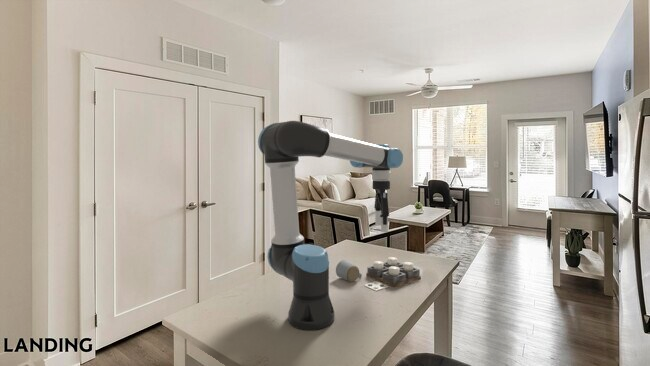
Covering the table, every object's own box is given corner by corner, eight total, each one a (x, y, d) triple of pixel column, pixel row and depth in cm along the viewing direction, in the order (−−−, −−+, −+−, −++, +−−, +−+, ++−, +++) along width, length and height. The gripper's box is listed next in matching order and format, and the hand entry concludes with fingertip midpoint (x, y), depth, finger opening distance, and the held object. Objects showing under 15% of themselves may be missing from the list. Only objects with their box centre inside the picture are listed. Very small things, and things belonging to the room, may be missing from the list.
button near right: (394, 278, 136) (394, 270, 135) (386, 275, 139) (386, 267, 139) (401, 276, 138) (401, 268, 138) (393, 273, 142) (393, 265, 142)
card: (376, 291, 131) (376, 289, 131) (363, 285, 136) (363, 284, 136) (388, 286, 135) (388, 285, 135) (376, 281, 140) (376, 280, 140)
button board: (395, 287, 134) (395, 278, 133) (366, 275, 147) (366, 267, 147) (420, 278, 143) (420, 269, 143) (390, 268, 157) (391, 259, 157)
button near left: (378, 272, 143) (378, 265, 143) (371, 269, 146) (371, 262, 146) (385, 270, 146) (385, 262, 145) (378, 267, 149) (378, 260, 149)
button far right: (408, 273, 141) (408, 266, 141) (400, 271, 145) (400, 263, 144) (415, 271, 144) (415, 263, 143) (407, 268, 147) (407, 261, 147)
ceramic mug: (347, 284, 138) (347, 266, 137) (335, 278, 144) (335, 261, 144) (366, 279, 144) (366, 261, 143) (353, 273, 151) (353, 257, 150)
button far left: (392, 268, 148) (392, 260, 148) (385, 265, 152) (385, 258, 151) (399, 266, 151) (399, 258, 151) (392, 263, 154) (392, 256, 154)
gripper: (396, 182, 131) (396, 235, 133) (384, 177, 156) (384, 222, 158) (377, 182, 131) (377, 235, 133) (368, 178, 156) (368, 222, 158)
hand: (381, 228), depth 146 cm, fingers open, 13 cm apart
